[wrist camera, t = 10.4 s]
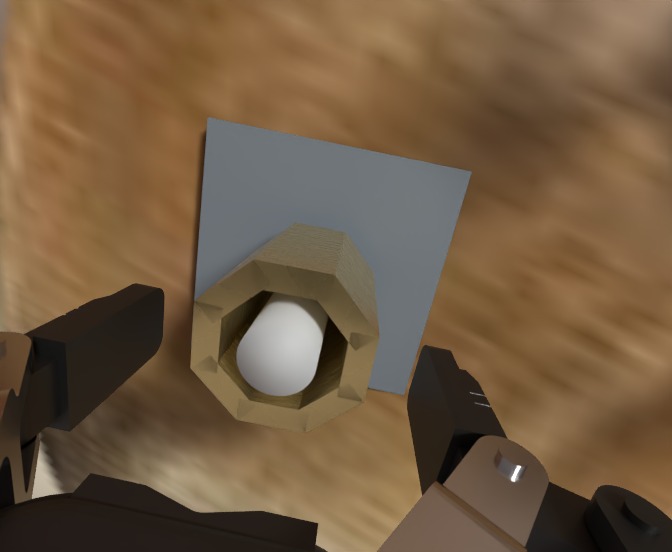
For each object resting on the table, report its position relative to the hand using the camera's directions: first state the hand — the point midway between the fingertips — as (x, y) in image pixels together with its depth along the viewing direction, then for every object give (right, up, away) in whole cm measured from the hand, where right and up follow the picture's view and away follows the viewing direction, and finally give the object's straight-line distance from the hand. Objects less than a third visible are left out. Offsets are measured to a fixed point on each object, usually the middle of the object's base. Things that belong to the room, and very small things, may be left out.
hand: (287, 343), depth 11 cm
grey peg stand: (+1, +3, +8) cm, 8 cm away
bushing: (0, +2, +5) cm, 5 cm away
